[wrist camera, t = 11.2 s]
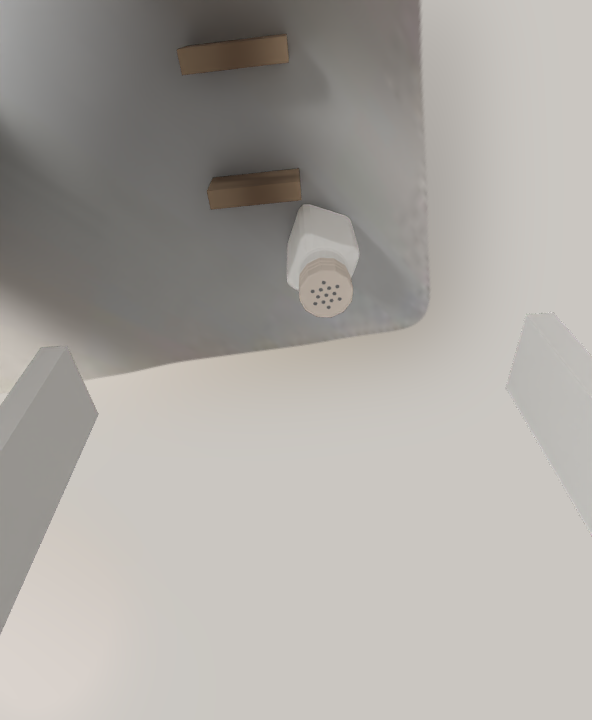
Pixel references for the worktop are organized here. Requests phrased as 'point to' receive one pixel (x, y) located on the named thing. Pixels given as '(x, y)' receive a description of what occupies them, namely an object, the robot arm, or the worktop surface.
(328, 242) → the pepper shaker
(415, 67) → the worktop surface
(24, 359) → the worktop surface
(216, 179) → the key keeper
